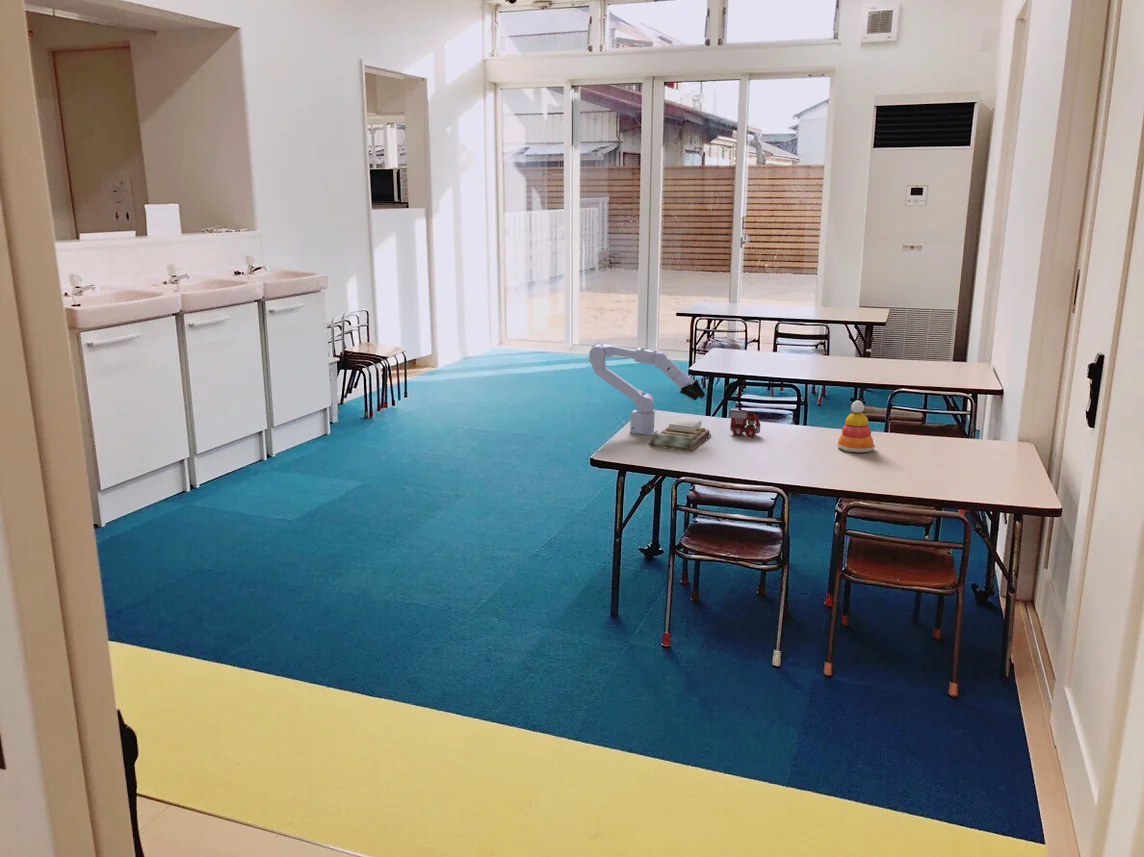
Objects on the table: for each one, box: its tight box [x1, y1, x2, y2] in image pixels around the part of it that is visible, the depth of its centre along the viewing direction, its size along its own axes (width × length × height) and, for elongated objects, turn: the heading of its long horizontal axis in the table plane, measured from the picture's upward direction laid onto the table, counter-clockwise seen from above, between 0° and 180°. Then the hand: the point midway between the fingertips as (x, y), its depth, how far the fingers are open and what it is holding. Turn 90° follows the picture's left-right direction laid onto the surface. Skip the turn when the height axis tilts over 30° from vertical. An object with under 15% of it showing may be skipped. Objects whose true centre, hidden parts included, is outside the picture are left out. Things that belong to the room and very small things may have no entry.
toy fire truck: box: [729, 409, 761, 438], centre depth 365 cm, size 7×12×10 cm, turn 79°
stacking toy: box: [836, 399, 876, 453], centre depth 346 cm, size 14×14×20 cm
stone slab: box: [668, 417, 702, 433], centre depth 362 cm, size 10×12×2 cm
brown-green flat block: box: [648, 426, 712, 452], centre depth 356 cm, size 18×25×5 cm
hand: (700, 397), depth 363 cm, fingers open, 7 cm apart
